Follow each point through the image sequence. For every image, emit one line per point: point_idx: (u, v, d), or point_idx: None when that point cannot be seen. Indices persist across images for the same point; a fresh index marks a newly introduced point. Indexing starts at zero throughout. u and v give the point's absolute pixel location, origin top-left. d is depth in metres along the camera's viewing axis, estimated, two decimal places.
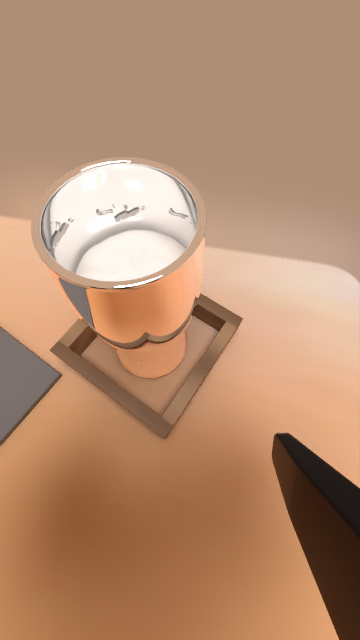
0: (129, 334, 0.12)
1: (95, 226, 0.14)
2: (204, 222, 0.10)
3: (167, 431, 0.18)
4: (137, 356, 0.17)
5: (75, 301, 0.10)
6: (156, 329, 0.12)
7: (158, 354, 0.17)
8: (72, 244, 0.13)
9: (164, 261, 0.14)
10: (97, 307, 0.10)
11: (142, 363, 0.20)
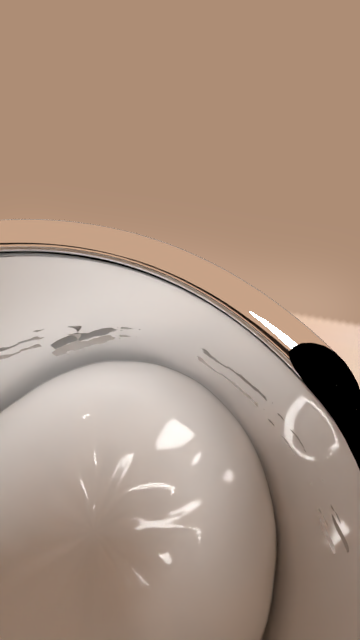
0: None
1: None
2: None
3: None
4: None
5: None
6: None
7: None
8: None
9: (181, 480, 0.05)
10: None
11: None
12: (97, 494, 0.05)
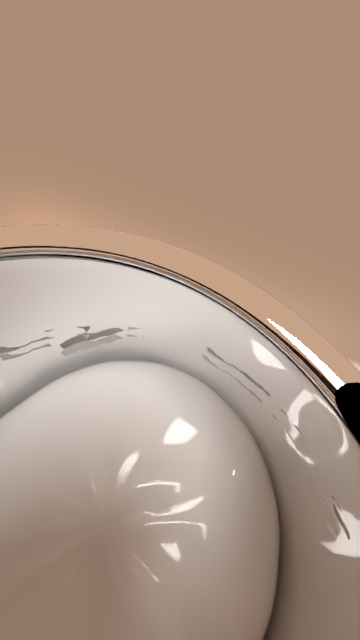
0: None
1: (9, 374, 0.05)
2: None
3: None
4: None
5: None
6: None
7: None
8: None
9: (187, 476, 0.05)
10: None
11: None
12: (105, 489, 0.05)
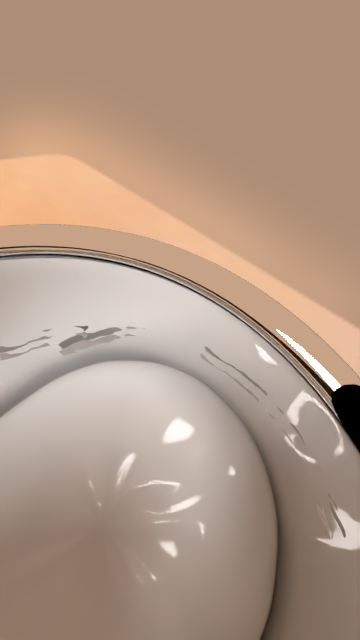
0: None
1: (8, 374, 0.05)
2: None
3: None
4: None
5: None
6: None
7: None
8: None
9: (185, 475, 0.05)
10: None
11: None
12: (104, 488, 0.05)
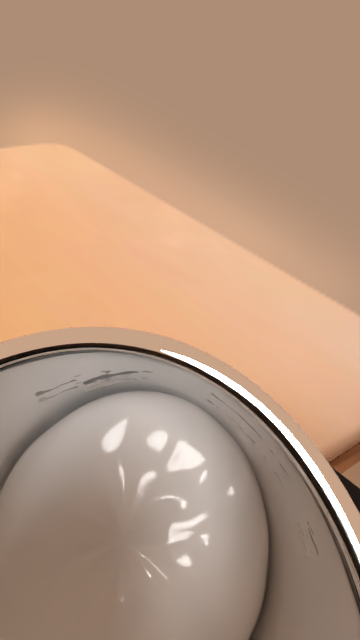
0: None
1: (41, 409, 0.06)
2: None
3: None
4: None
5: None
6: None
7: None
8: None
9: (192, 495, 0.06)
10: None
11: None
12: (124, 507, 0.06)
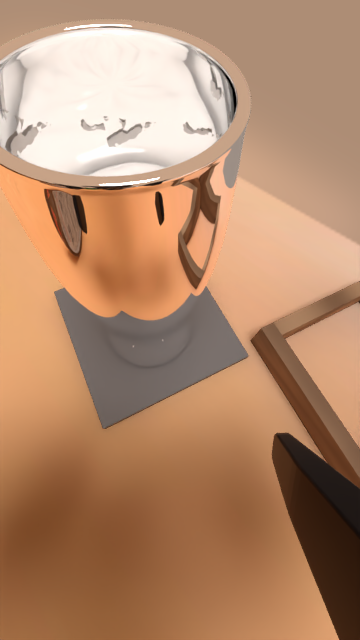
0: (121, 292, 0.08)
1: (81, 148, 0.10)
2: (248, 103, 0.06)
3: None
4: (132, 335, 0.13)
5: (36, 228, 0.07)
6: (161, 287, 0.08)
7: (159, 334, 0.14)
8: (44, 166, 0.09)
9: None
10: (69, 235, 0.06)
11: (138, 347, 0.16)
12: None
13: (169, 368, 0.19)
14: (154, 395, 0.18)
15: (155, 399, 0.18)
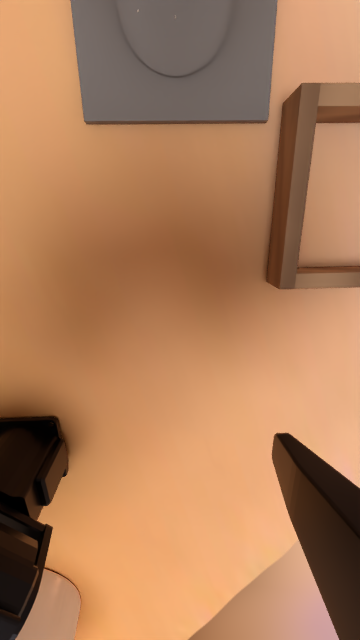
0: None
1: None
2: None
3: (286, 287, 0.18)
4: None
5: None
6: None
7: None
8: None
9: None
10: None
11: (143, 15, 0.12)
12: None
13: (176, 86, 0.15)
14: (147, 112, 0.16)
15: (147, 117, 0.16)
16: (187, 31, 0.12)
